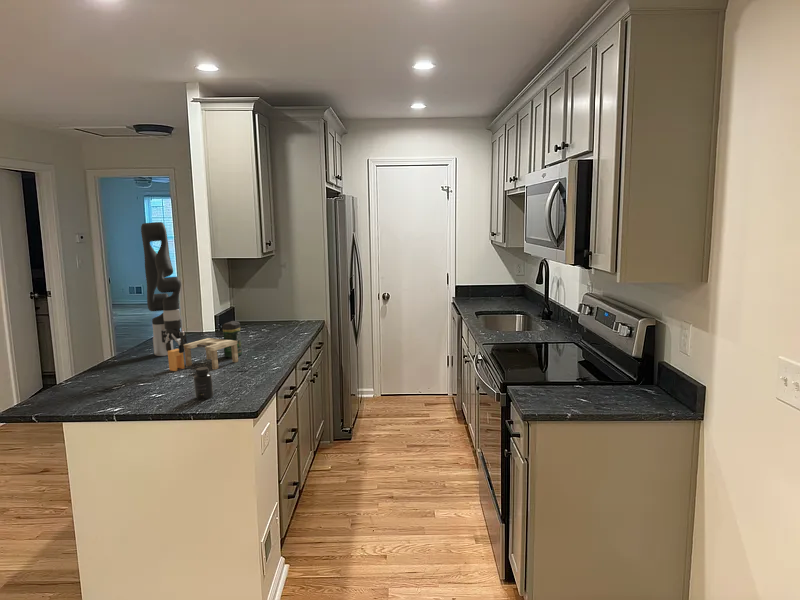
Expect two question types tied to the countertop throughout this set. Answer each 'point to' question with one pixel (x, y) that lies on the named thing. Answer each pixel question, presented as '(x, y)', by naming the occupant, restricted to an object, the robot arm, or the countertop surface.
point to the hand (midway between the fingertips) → (175, 351)
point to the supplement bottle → (203, 383)
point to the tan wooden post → (175, 360)
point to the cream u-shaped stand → (211, 350)
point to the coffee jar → (232, 337)
